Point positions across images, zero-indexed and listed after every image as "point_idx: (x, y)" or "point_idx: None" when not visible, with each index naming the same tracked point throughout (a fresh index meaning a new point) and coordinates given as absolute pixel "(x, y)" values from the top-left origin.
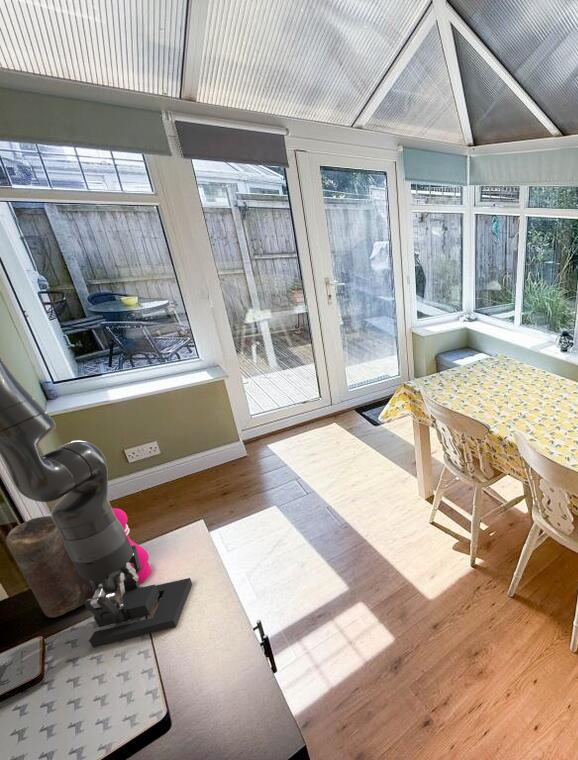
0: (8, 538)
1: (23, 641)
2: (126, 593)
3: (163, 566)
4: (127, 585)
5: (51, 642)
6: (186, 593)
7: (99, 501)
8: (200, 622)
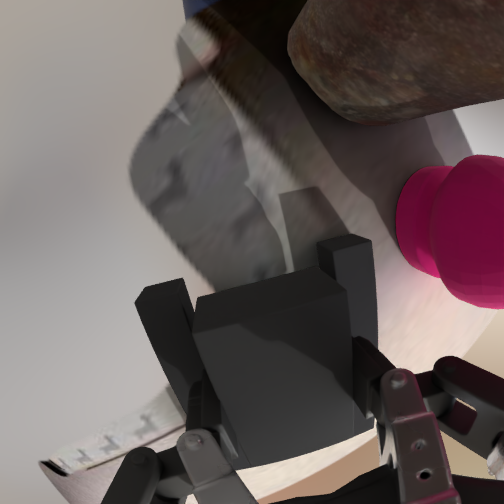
0: None
1: (202, 19)
2: (334, 380)
3: None
4: (367, 397)
5: (181, 105)
6: None
7: None
8: None
